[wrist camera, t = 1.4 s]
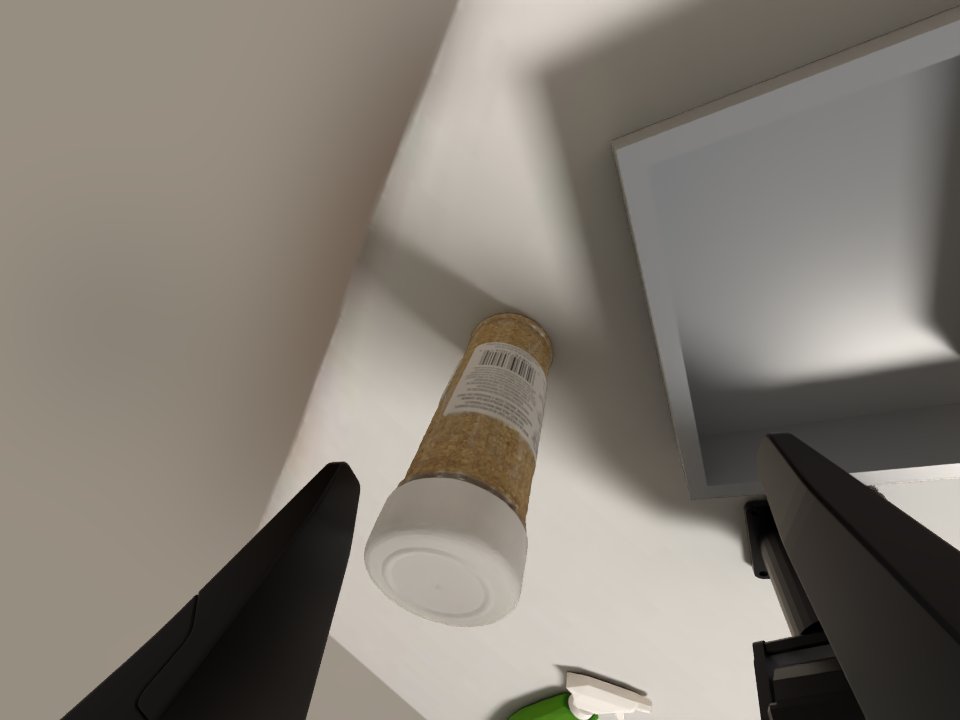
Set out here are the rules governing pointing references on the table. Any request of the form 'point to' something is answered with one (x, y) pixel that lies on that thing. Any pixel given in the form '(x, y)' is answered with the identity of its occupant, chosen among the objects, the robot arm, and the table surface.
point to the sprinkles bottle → (469, 485)
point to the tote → (810, 263)
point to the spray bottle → (585, 702)
